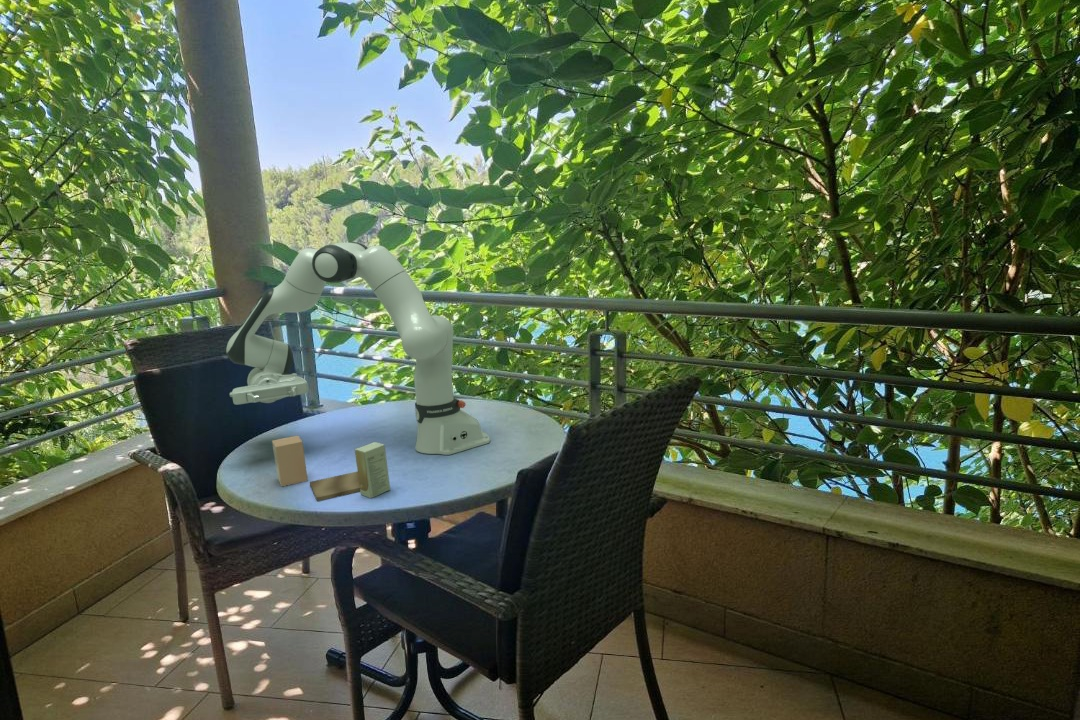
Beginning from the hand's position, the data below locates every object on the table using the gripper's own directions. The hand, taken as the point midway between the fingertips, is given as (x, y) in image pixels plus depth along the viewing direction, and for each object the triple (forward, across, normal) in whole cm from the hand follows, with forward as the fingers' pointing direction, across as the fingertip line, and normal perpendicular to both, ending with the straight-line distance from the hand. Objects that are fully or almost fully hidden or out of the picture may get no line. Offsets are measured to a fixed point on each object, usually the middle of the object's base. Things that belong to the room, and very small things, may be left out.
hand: (274, 396), depth 174 cm
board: (+26, +10, +21) cm, 34 cm away
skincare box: (+35, +16, +21) cm, 44 cm away
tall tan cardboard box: (+12, 0, +21) cm, 24 cm away
